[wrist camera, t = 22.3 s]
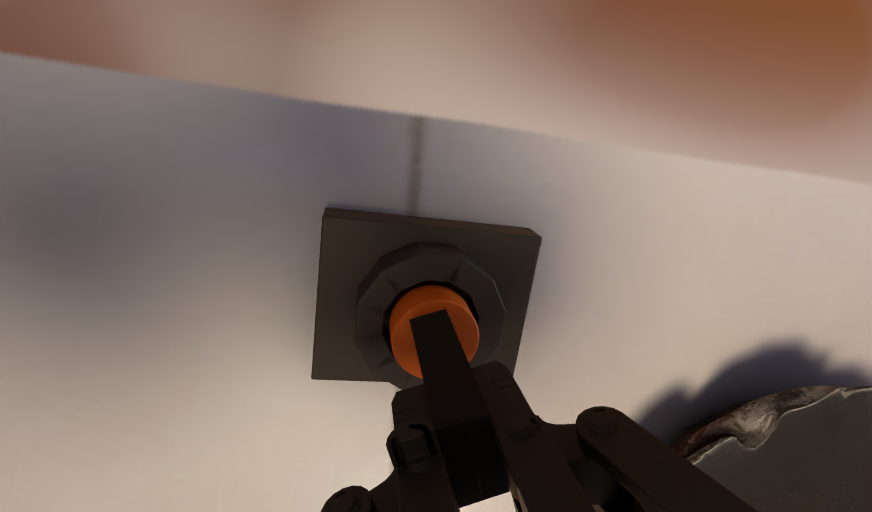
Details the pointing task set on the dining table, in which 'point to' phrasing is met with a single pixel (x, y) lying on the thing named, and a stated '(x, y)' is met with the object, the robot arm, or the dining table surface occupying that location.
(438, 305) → the button
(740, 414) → the board
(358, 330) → the control block
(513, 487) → the robot arm
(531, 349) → the dining table surface
